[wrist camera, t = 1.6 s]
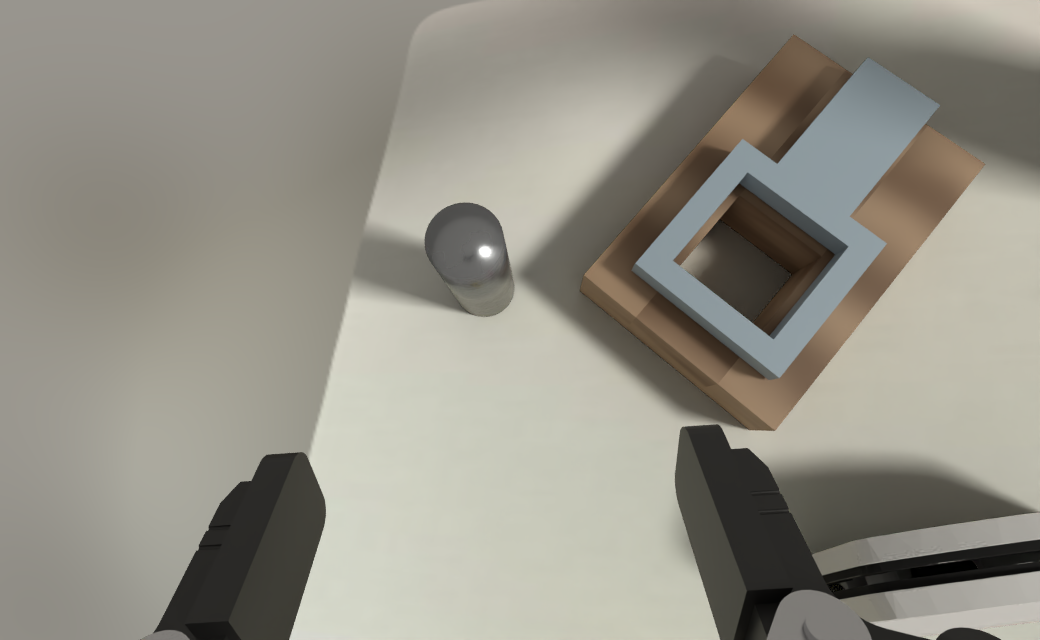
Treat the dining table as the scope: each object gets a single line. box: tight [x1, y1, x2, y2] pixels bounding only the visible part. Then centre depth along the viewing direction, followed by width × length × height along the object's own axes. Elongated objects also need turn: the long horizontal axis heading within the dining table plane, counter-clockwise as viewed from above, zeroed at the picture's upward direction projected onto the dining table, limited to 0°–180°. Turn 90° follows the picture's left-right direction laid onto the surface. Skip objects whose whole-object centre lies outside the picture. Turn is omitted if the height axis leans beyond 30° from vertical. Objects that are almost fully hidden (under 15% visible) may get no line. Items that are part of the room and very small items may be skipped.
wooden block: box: [580, 35, 985, 431], centre depth 36 cm, size 21×14×4 cm, turn 139°
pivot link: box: [631, 57, 940, 380], centre depth 33 cm, size 19×10×2 cm, turn 139°
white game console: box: [812, 512, 1040, 637], centre depth 30 cm, size 17×5×10 cm, turn 98°
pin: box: [425, 203, 514, 317], centre depth 33 cm, size 4×4×10 cm
